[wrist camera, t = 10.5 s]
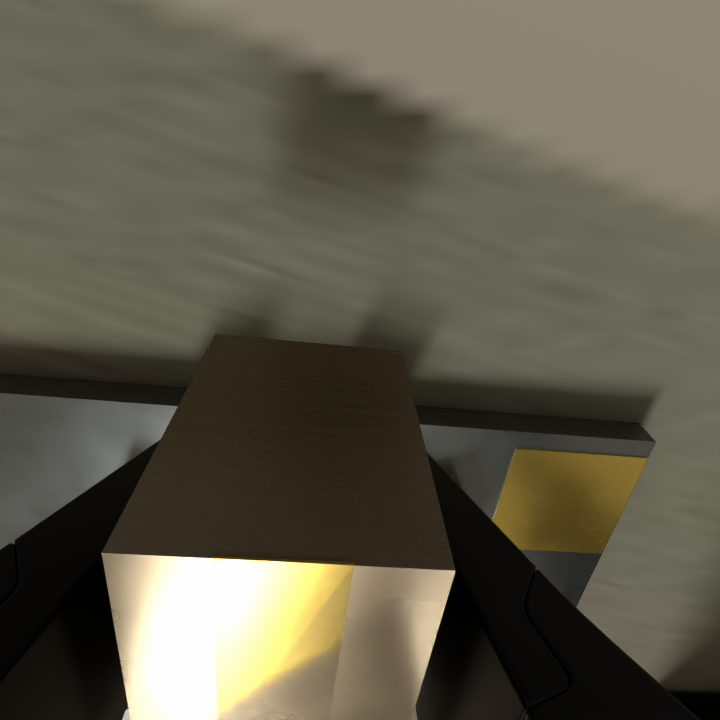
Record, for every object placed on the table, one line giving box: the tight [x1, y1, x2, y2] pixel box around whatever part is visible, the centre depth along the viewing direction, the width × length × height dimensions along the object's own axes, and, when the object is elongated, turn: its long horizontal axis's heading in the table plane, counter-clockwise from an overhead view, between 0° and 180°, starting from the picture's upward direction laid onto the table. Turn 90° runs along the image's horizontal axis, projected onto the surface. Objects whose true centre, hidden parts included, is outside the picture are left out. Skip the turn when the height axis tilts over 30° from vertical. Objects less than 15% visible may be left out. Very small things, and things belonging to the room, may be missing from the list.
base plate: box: [0, 374, 656, 607], centre depth 18 cm, size 22×12×1 cm, turn 83°
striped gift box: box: [102, 334, 456, 720], centre depth 8 cm, size 4×4×5 cm
